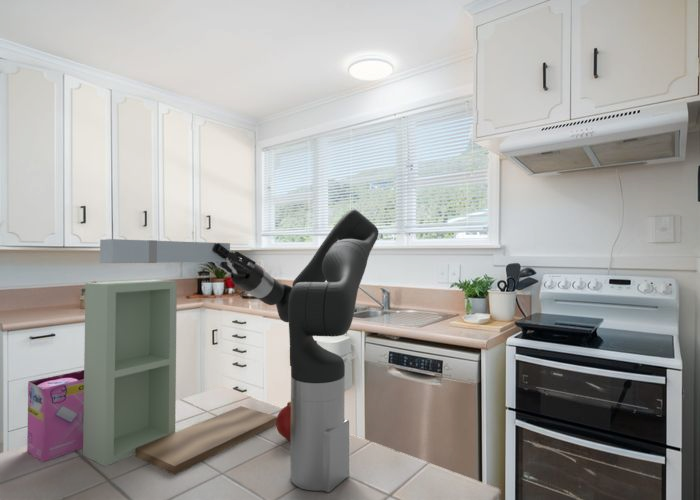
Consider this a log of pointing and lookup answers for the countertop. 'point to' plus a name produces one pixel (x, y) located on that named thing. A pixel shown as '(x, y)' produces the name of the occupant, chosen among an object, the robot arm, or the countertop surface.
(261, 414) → the board
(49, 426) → the gum box
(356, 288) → the robot arm
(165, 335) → the shelf
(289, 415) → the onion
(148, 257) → the light blue box
